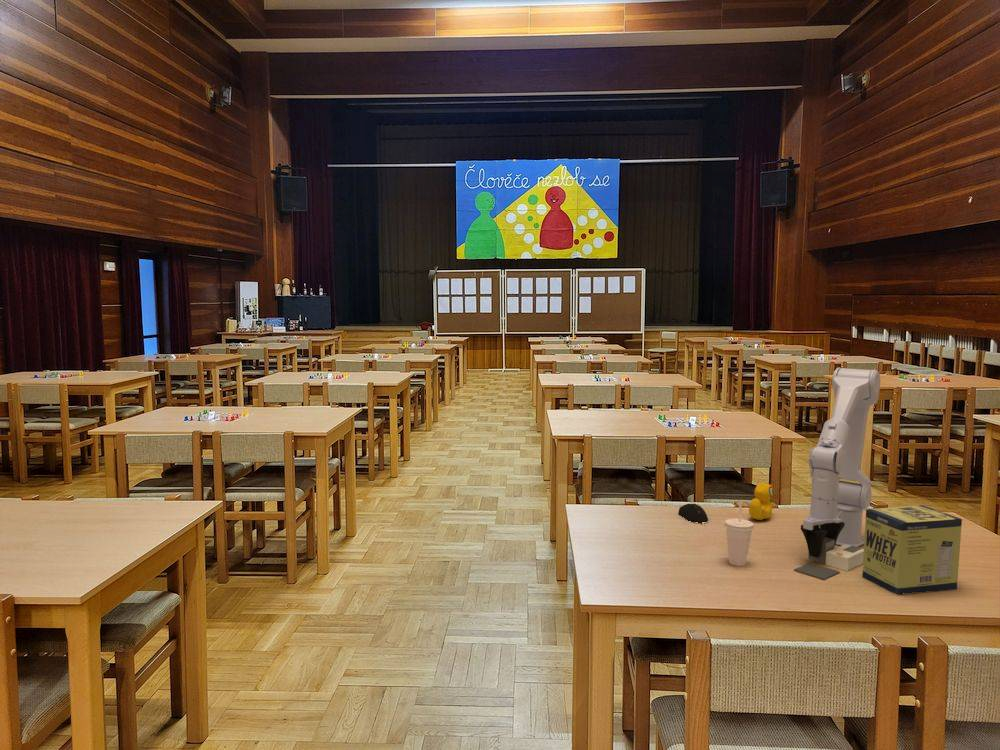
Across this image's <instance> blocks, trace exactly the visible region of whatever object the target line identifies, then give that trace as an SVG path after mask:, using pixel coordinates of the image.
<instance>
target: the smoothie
mask: <svg viewBox="0 0 1000 750" xmlns="http://www.w3.org/2000/svg"><path fill="white" fill-rule="evenodd" d="M742 504H743V503H741V502H740V503H738V518H727V519H726V520H724V527H725V528H726V529H725V530H726V544H727V551H728V552H727V554H728V563H729V565H732V566H735V567H742V566H743V567H745V566H747V565H746V564H747V559H748V554H749V548H750V542H751V539H752V538H751V537H752V531H753V530H754V525H755V524H754V522H752V521H750V520H747V519H744V518H743V519H742V509H743V507H742Z"/></svg>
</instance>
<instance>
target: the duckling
mask: <svg viewBox="0 0 1000 750" xmlns="http://www.w3.org/2000/svg"><path fill="white" fill-rule="evenodd" d="M773 491H774V487H773V484H769V483H767V482H759V483H758V484H757V485H756V486H755V488H754V492H753V493H754V497H755V498H753V499H752V500H750V503H749V506H748V507H749V509H748V514H749V516H750V517H751V518H752V519H754V520H757V521H763V519H764V520H766V519H768V518H770V517H771V516H772V514H773V513H772V512H773V503H772V502H771V499H772V498H773V494H774V492H773Z"/></svg>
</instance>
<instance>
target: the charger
mask: <svg viewBox="0 0 1000 750" xmlns="http://www.w3.org/2000/svg"><path fill="white" fill-rule="evenodd" d="M834 542H835V540H834V539H830V538H826V537H824V540H823V543H822V548H821V554H820V556H819V558H816V557H812V556H810V555H809V554H808V560H811V561H814V562H817V563H820V564H825V565H826V552H828V551H830V550H833V549H835V547H834Z"/></svg>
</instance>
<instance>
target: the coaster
mask: <svg viewBox="0 0 1000 750" xmlns="http://www.w3.org/2000/svg"><path fill="white" fill-rule="evenodd" d="M793 572H796V573H800V574H803V575H806V576H809V577H811V578H815V579H818V580H821V581H825V580H828V579H829V578H832V577H834V576H836V575H838V574H840V573H841V572H840V571H838V570H836V569H831V568H829V567H825V566H822V565H819V564H815V563H813V562H808V563H806V564H803V565H800V566H798V567H796V568H794V569H793Z"/></svg>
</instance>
